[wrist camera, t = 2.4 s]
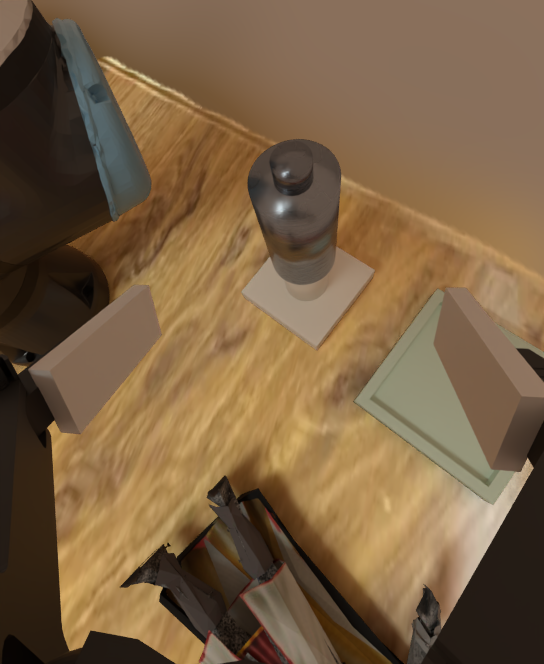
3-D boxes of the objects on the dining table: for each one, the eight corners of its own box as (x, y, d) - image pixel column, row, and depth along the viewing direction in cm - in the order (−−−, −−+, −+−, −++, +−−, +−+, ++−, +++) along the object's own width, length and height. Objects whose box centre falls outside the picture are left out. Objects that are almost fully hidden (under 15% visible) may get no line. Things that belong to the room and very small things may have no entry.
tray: (353, 401, 34) (354, 400, 32) (432, 293, 35) (437, 288, 34) (484, 500, 30) (493, 505, 29) (567, 375, 32) (579, 373, 30)
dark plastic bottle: (259, 262, 30) (221, 173, 19) (297, 216, 31) (282, 102, 20) (309, 297, 29) (300, 221, 18) (348, 247, 29) (363, 144, 18)
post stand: (245, 298, 38) (225, 268, 31) (299, 231, 39) (292, 187, 32) (316, 350, 36) (314, 332, 28) (372, 277, 37) (385, 240, 29)
